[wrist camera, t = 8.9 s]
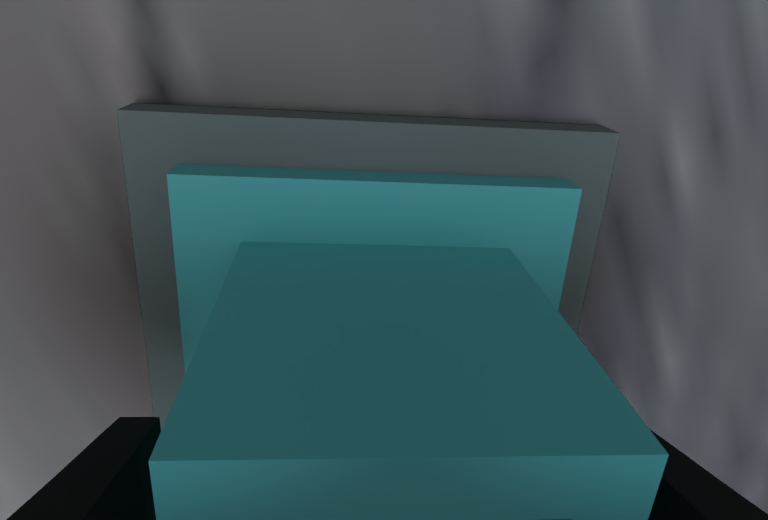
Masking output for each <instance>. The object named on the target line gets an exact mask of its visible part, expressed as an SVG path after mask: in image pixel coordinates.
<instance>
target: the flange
mask: <svg viewBox="0 0 768 520" xmlns="http://www.w3.org/2000/svg"><path fill="white" fill-rule="evenodd" d="M167 183H168V194H169V205H170V216H171V227H172V237H173V248H174V259H175V270H176V281H177V291H178V302H179V313H180V324H181V335H182V346H183V356H184V367H185V376H184V378H183V380H182V383H181V385H180V388H179V390H178V392H177V395H176V397H175V399H174V402H173V404H172V407H171V409H170V411H169V414H168V416H167V418H166V421H165V423H164V426H163V428H162V430H161V433H160V435H159V437H158V440H157V442H156V444H155V447H154V449H153V452H152V454H151V456H150V459H149V469H150V477H151V484H152V492H153V499H154V507H155V515H156V520H648V518H649V515H650V512H651V509H652V506H653V503H654V499H655V496H656V493H657V490H658V487H659V484H660V481H661V478H662V475H663V472H664V468H665V465H666V462H667V459H668V456H669V454H668V453H667V451H666V450H665V449H664V448H663V446H662V445H661V444H660V442H659V441H658V440H657V438H656V437H655V436H654V435H653V433H652V432H651V431H650V429H649V428H648V427H647V426H646V424H645V423H644V422H643V420H642V419H641V418H640V417H639V415H638V414H637V413H636V411H635V410H634V409H633V407H632V406H631V405H630V404H629V402H628V401H627V400H626V398H625V397H624V396H623V395H622V393H621V392H620V391H619V389H618V388H617V387H616V386H615V384H614V383H613V382H612V380H611V379H610V378H609V376H608V375H607V374H606V373H605V371H604V370H603V369H602V367H601V366H600V365H599V364H598V362H597V361H596V360H595V358H594V357H593V356H592V355H591V353H590V352H589V351H588V349H587V348H586V347H585V345H584V344H583V343H582V342H581V340H580V339H579V338H578V336H577V335H576V334H575V333H574V331H573V330H572V329H571V327H570V326H569V325H568V324H567V322H566V321H565V320H564V318H563V317H562V316H561V314H560V313H559V312H558V308H559V303H560V298H561V293H562V288H563V283H564V278H565V273H566V268H567V263H568V258H569V253H570V248H571V243H572V238H573V233H574V228H575V223H576V218H577V213H578V208H579V203H580V198H581V193H582V188H580V187H579V186H577V185H576V184H574V183H573V182H571V181H570V180H568V179H561V178H535V177H508V176H481V175H455V174H428V173H402V172H375V171H348V170H322V169H295V168H269V167H242V166H215V165H189V164H177V165H176V166H175V167H174V168H173V169H172V170H171V171H170V172H168V173H167Z"/></svg>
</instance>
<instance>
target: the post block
mask: <svg viewBox="0 0 768 520" xmlns="http://www.w3.org/2000/svg"><path fill="white" fill-rule="evenodd" d="M117 116H118V125H119V133H120V141H121V149H122V158H123V166H124V174H125V182H126V190H127V199H128V207H129V215H130V223H131V231H132V240H133V248H134V256H135V264H136V272H137V281H138V289H139V297H140V305H141V314H142V322H143V330H144V338H145V346H146V355H147V363H148V371H149V379H150V387H151V396H152V404H153V412H154V417H160V426H161V430H162V428H163V426H164V423H165V421H166V418H167V416H168V414H169V411H170V409H171V407H172V404H173V402H174V399H175V397H176V395H177V392H178V390H179V388H180V385H181V383H182V380H183V378H184V376H185V367H184V356H183V346H182V335H181V324H180V313H179V302H178V291H177V281H176V270H175V259H174V248H173V237H172V227H171V216H170V205H169V194H168V183H167V173H168V172H170V171H171V170H172V169H173V168H174V167H175V166H176V165H177V164H189V165H215V166H242V167H269V168H295V169H322V170H348V171H375V172H402V173H428V174H455V175H481V176H508V177H535V178H561V179H568V180H570V181H571V182H573V183H574V184H576V185H577V186H579V187H580V188H582V193H581V198H580V203H579V208H578V213H577V218H576V223H575V228H574V233H573V238H572V243H571V248H570V253H569V258H568V263H567V268H566V273H565V278H564V283H563V288H562V293H561V298H560V303H559V308H558V312H559V313H560V314H561V316H562V317H563V318H564V320H565V321H566V322H567V324H568V325H569V326H570V327H571V329H572V330H573V331H574V333H575V334H576V335H577V330H578V326H579V321H580V316H581V312H582V307H583V303H584V298H585V294H586V289H587V285H588V280H589V275H590V271H591V266H592V262H593V257H594V253H595V248H596V243H597V239H598V234H599V230H600V225H601V221H602V216H603V211H604V207H605V202H606V198H607V193H608V189H609V184H610V179H611V175H612V170H613V166H614V161H615V157H616V152H617V147H618V143H619V138H620V134H621V133H619V132H616V131H613V130H611V129H608V128H606V127H603V126H601V125H587V124H566V123H545V122H524V121H503V120H482V119H461V118H440V117H419V116H398V115H377V114H356V113H335V112H315V111H294V110H273V109H252V108H231V107H210V106H189V105H168V104H147V103H132V104H130V105H127V106H125V107H123V108H120V109H118V110H117Z"/></svg>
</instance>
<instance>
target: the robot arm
mask: <svg viewBox="0 0 768 520" xmlns="http://www.w3.org/2000/svg"><path fill="white" fill-rule="evenodd" d="M650 431H651V430H650ZM651 432H652V433H653V435H654V436H655V437H656V438H657V440H658V441H659V442H660V444H661V445H662V446H663V448H664V449H665V450H666V451H667V453H668V454H669V456H668V459H667V462H666V465H665V468H664V472H663V475H662V478H661V481H660V484H659V487H658V490H657V493H656V496H655V499H654V503H653V506H652V509H651V512H650V515H649V518H648V520H768V514H767V513H765V512H764V511H762V510H761V509H759V508H758V507H756V506H755V505H754V504H752V503H751V502H749V501H748V500H747V499H745V498H744V497H742V496H741V495H740V494H738V493H737V492H735V491H734V490H733V489H731V488H730V487H728V486H727V485H726V484H724V483H723V482H721V481H720V480H719V479H717V478H716V477H715V476H713V475H712V474H710V473H709V472H708V471H706V470H705V469H704V468H702V467H701V466H700V465H698V464H697V463H695V462H694V461H693V460H691V459H690V458H689V457H687V456H686V455H684V454H683V453H682V452H680V451H679V450H678V449H676V448H675V447H674V446H672V445H671V444H669V443H668V442H667V441H665V440H664V439H662V438H661V437H660V436H658V435H657V434H656V433H654V432H653V431H651ZM160 433H161V426H160V417H120V418H118V419H117V420H116V421H115V422H114V423H113V424H112V425H111V426H109V427H108V428H107V429H106V430H105V431H104V432H103V433H102V434H100V435H99V436H98V437H97V438H96V439H95V440H94V441H93V442H92V443H91V444H90V445H88V446H87V447H86V448H85V449H84V450H83V451H82V452H81V453H80V454H79V455H78V456H77V457H76V458H74V459H73V460H72V461H71V462H70V463H69V464H68V465H67V466H66V467H65V468H64V469H63V470H61V471H60V472H59V473H58V474H57V475H56V476H55V477H54V478H53V479H52V480H51V481H49V482H48V483H47V484H46V485H45V486H44V487H43V488H42V489H41V490H39V491H38V492H37V493H36V494H35V495H34V496H33V497H32V498H30V499H29V500H28V501H27V502H26V503H25V504H24V505H22V506H21V507H20V508H19V509H18V510H17V511H16V512H15V513H13V514H12V515H11V516H10V517H9V518H8V519H7V520H156V515H155V507H154V499H153V492H152V484H151V477H150V469H149V459H150V456H151V454H152V452H153V449H154V447H155V444H156V442H157V440H158V437H159V435H160Z"/></svg>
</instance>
